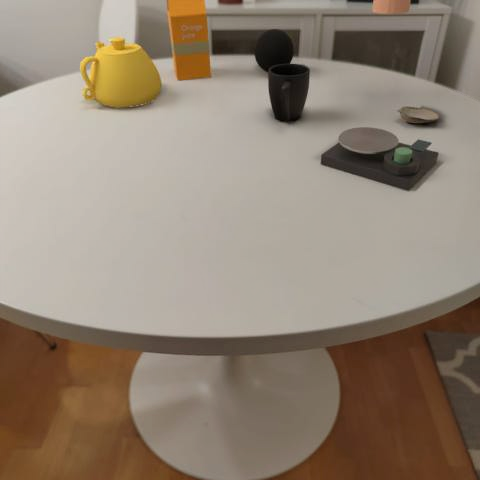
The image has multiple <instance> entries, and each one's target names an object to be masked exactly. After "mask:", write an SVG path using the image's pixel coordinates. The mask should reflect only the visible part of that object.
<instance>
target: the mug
mask: <svg viewBox="0 0 480 480" xmlns="http://www.w3.org/2000/svg"><path fill="white" fill-rule="evenodd" d="M267 73H268V75H267V79H268V80H267V83H268V84H267V88H268V96H269V102H270V106H271V110H272V113H273V118H274V120H275V121H277V122H282V123H294V122H297V121H299V120H300V119H301V117H302V115H303V111H304V108H305V105H306V101H307V100H308V99H307V98H308V95H309V88H310V79H311V78H310V77H311V69H310V67H309V66H307V65H304V64H299V63H290V64H279V65H275V66H272V67H271V68H269V71H268V72H267Z"/></svg>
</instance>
